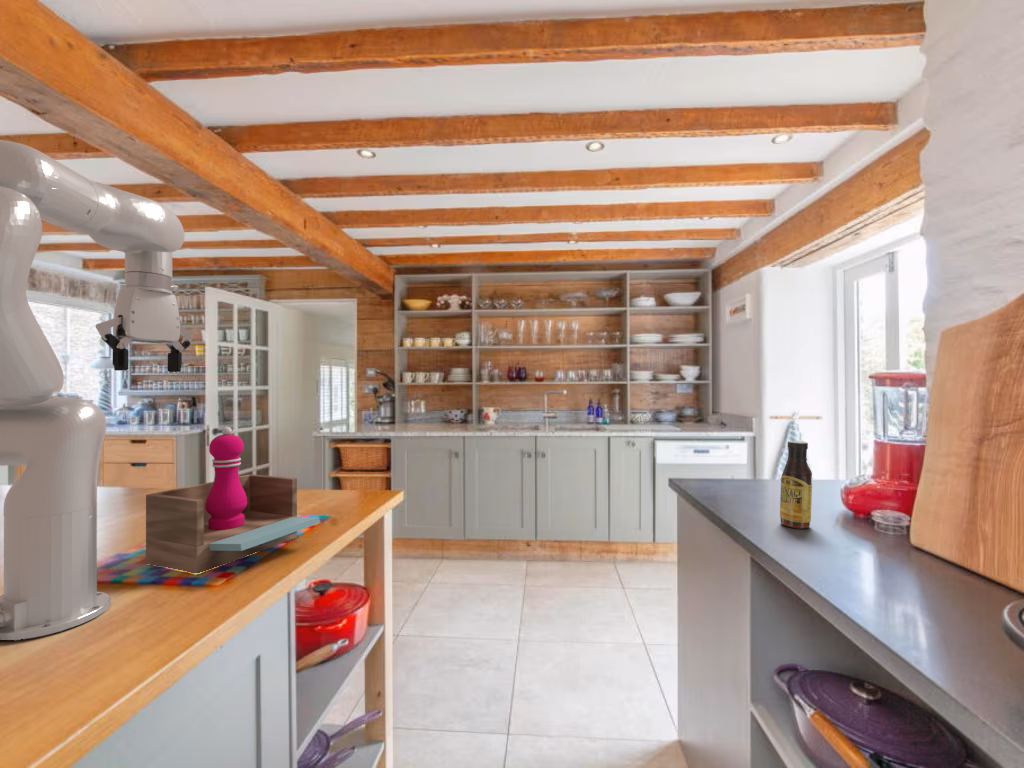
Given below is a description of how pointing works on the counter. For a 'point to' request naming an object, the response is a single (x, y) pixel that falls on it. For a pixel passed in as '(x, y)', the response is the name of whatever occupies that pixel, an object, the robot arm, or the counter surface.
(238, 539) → the panel
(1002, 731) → the counter surface
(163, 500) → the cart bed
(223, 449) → the pepper mill
